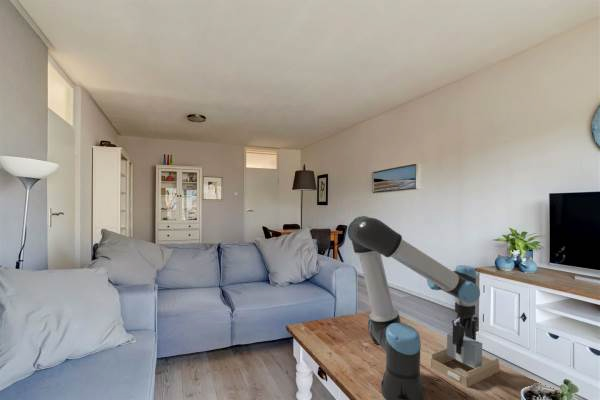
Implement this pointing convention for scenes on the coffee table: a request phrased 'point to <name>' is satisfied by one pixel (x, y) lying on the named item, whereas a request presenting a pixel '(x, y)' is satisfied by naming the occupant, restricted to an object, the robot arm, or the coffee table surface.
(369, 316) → the dark grey joint housing
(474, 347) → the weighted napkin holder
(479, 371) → the wooden tray
